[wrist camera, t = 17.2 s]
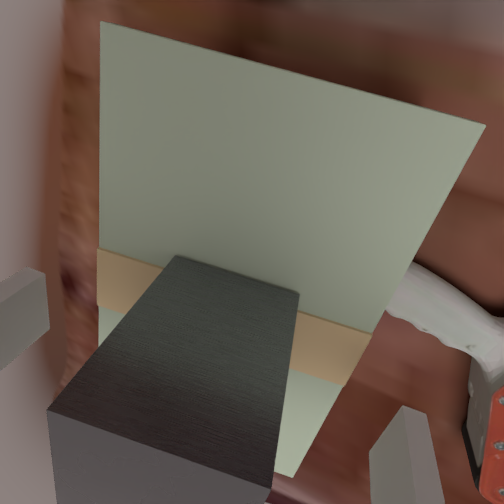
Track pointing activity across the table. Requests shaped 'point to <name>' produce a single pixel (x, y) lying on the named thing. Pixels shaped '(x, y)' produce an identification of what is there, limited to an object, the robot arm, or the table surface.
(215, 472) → the block
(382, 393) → the table surface
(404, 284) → the tape dispenser
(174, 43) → the lid
